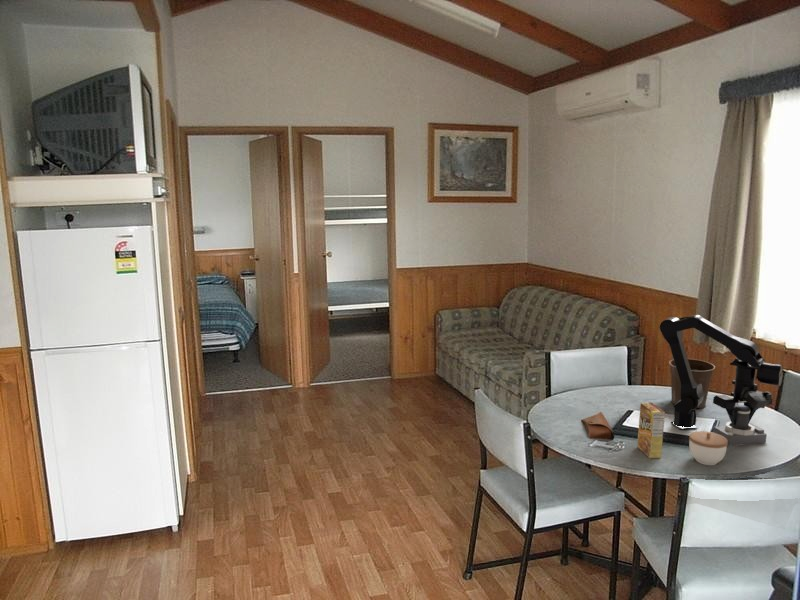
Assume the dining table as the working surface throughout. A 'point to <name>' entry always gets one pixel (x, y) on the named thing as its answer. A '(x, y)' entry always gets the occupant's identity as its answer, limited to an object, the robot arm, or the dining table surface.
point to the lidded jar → (707, 447)
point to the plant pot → (701, 375)
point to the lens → (742, 418)
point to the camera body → (741, 434)
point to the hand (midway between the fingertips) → (740, 424)
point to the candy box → (651, 430)
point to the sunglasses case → (598, 427)
